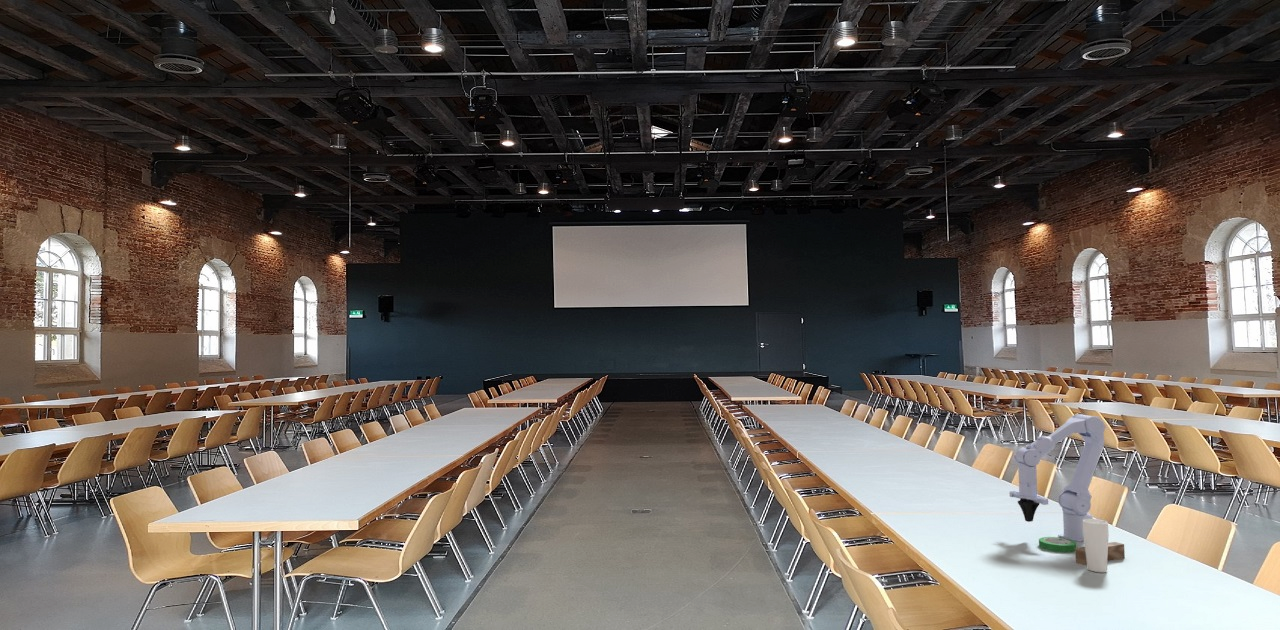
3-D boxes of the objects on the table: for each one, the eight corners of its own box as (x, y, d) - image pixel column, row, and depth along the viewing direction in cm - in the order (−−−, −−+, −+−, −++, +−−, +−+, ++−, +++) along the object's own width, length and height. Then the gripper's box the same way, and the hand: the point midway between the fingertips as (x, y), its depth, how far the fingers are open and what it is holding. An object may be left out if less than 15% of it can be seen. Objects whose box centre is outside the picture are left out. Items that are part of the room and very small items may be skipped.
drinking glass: (1106, 567, 224) (1104, 519, 225) (1113, 574, 218) (1110, 524, 218) (1081, 566, 227) (1079, 517, 227) (1087, 572, 220) (1085, 523, 221)
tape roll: (1032, 544, 252) (1032, 536, 252) (1065, 543, 252) (1064, 536, 252) (1049, 553, 241) (1049, 545, 241) (1083, 553, 241) (1083, 545, 241)
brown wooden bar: (1115, 555, 236) (1115, 541, 237) (1124, 558, 234) (1124, 544, 234) (1075, 562, 230) (1075, 548, 230) (1084, 565, 227) (1083, 550, 227)
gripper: (1002, 479, 263) (1003, 517, 262) (1037, 487, 249) (1038, 527, 249) (1017, 478, 265) (1018, 515, 265) (1052, 485, 252) (1053, 524, 251)
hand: (1029, 521), depth 257 cm, fingers closed
